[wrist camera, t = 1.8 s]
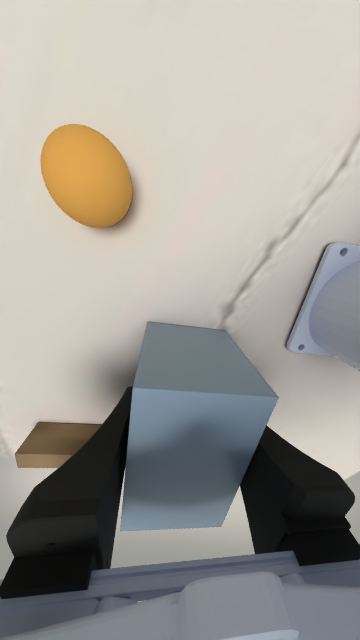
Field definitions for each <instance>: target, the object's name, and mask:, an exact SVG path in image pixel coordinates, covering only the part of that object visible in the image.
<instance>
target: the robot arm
mask: <svg viewBox="0 0 360 640" xmlns="http://www.w3.org/2000/svg"><path fill="white" fill-rule="evenodd" d="M341 249H342V253H341V254H340V251H341ZM299 345H301V346H300V347H299ZM287 349H288V350H290V351H291V352H297V353H307V354H316V355H326V356H335V357H337V358H339V359H341V360H342V361H344V362H346V363H347V364H349V365H351V366H352V367H354V368H356V369H357V370H359V371H360V246H356V245H351V244H346V243H342V242H333V243H331V244H329V245H328V246H327V248H326V250H325V252H324V255H323V257H322V260H321V262H320V264H319V267H318V269H317V272H316V274H315V277H314V279H313V281H312V284H311V286H310V289H309V291H308V294H307V296H306V298H305V301H304V303H303V306H302V308H301V311H300V313H299V316H298V318H297V320H296V323H295V325H294V328H293V330H292V333H291V335H290V337H289V340H288V342H287ZM132 390H133V387H128V388H127V389H126V391H125V393H124V395H123V396H122V398H121V400H120V401H119V403H118V404H117V406H116V407H115V408H114V410H113V411H112V413H111V414H110V415H109V417H108V418H107V419H106V420H105V422H104V423H103V424H102V425H101V427H100V428H99V429H98V430H97V431H96V432H95V433H94V435H93V436H92V437H91V438H90V439H89V440H88V441H87V442H86V443H85V444H84V445H83V446H82V447H81V448H80V449H79V450H78V451H77V452H76V453H75V454H74V455H73V456H71V457H70V458H69V459H68V460H67V461H66V462H65V463H64V464H63V465H61V466H60V467H59V468H58V469H57V470H56V471H54V472H53V473H52V474H51V475H49V476H48V477H47V478H46V479H44V480H43V481H42V482H41V483H40V484H38V485H37V486H36V487H35V488H34V489H33V490H32V492H31V493H30V495H29V496H28V498H27V499H26V501H25V502H24V504H23V505H22V507H21V509H20V511H19V512H18V514H17V516H16V518H15V519H14V521H13V523H12V525H11V527H10V528H9V530H8V533H7V535H6V536H7V542H8V544H9V547H10V549H11V551H12V553H13V555H14V559H13V561H12V563H11V565H10V567H9V569H8V572H7V573H6V576H5V578H4V579H1V580H0V640H360V544H358V542H357V541H356V539H355V538H354V536H353V535H352V533H351V532H350V530H349V529H350V528H351V526H350V524H349V522H348V521H347V519H346V518H345V514H347V512H348V511H349V510H350V508H351V507H352V506H353V504H354V501H355V496H354V493H353V492H352V491H351V489H350V488H349V487H348V486H347V484H346V483H345V482H344V480H343V479H342V478H341V477H340V475H339V474H338V473H337V472H335V471H333V470H331V469H330V468H328V467H326V466H324V465H322V464H321V463H319V462H317V461H316V460H314V459H312V458H311V457H309V456H308V455H306V454H304V453H303V452H301V451H300V450H298V449H297V448H295V447H294V446H293V445H291V444H290V443H288V442H287V441H286V440H284V439H283V438H282V437H280V436H279V435H278V434H276V433H275V432H274V431H273V430H272V429H270V428H269V427H268V426H267V425H266V427H265V429H264V431H263V434H262V436H261V438H260V440H259V443H258V445H257V447H256V449H255V452H254V454H253V456H252V458H251V461H250V463H249V465H248V467H247V470H246V472H245V474H244V477H243V479H242V481H241V483H240V488H241V492H242V496H243V500H244V504H245V509H246V513H247V517H248V522H249V527H250V531H251V537H252V541H253V546H254V551H255V554H254V555H243V556H234V557H223V558H213V559H203V560H193V561H183V562H172V563H162V564H152V565H142V566H133V567H122V568H112V569H110V566H111V559H112V552H113V544H114V537H115V530H116V523H117V516H118V510H119V503H120V496H121V489H122V483H123V477H124V471H125V466H126V459H127V447H128V436H129V425H130V413H131V402H132ZM144 600H146V601H144ZM137 601H143V602H139V603H138V602H137Z"/></svg>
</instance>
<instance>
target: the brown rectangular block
mask: <svg viewBox="0 0 360 640" xmlns="http://www.w3.org/2000/svg"><path fill="white" fill-rule="evenodd" d="M100 427H101V425H95V424H68V423H41V422H38V423H37V425H36V426H35V427H34V429H33V430H32V431H31V433H30V434H29V435H28V437H27V438H26V439H25V441H24V442H23V444H22V445H21V446H20V448H19V449H18V450H17V452H16V453H15V457H16V461H17V466H18V468H59V467H60V466H61V465H63V464H64V463H65V462H66V461H67V460H68V459H69V458H70V457H71V456H73V455H74V454H75V453H76V452H77V451H78V450H79V449H80V448H81V447H82V446H83V445H84V444H85V443H86V442H87V441H88V440H89V439H90V438H91V437H92V436H93V435H94V433H95V432H96V431H97V430H98V429H99V428H100ZM125 468H126V466H125Z"/></svg>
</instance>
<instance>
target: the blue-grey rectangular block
mask: <svg viewBox="0 0 360 640" xmlns="http://www.w3.org/2000/svg"><path fill="white" fill-rule="evenodd" d="M278 398H279V397H278V396H277V395H276V393H275V392H274V391H273V390H272V388H271V387H270V386H269V385H268V383H267V382H266V381H265V380H264V378H263V377H262V376H261V375H260V373H259V372H258V371H257V370H256V368H255V367H254V366H253V365H252V363H251V362H250V361H249V360H248V358H247V357H246V356H245V355H244V353H243V352H242V351H241V350H240V348H239V347H238V346H237V345H236V343H235V342H234V341H233V340H232V338H231V337H230V336H229V335H228V333H227V332H226V331H223V330H215V329H206V328H198V327H189V326H181V325H172V324H164V323H155V322H148V323H147V327H146V331H145V336H144V340H143V345H142V349H141V353H140V358H139V362H138V367H137V371H136V376H135V380H134V384H133V390H132V402H131V413H130V425H129V436H128V447H127V459H126V470H125V482H124V494H123V505H122V516H121V529H120V531H137V530H158V529H159V530H160V529H181V528H182V529H183V528H206V527H221V526H222V524H223V521H224V519H225V517H226V515H227V512H228V510H229V508H230V505H231V504H232V501H233V499H234V497H235V494H236V492H237V490H238V488H239V486H240V483H241V481H242V479H243V477H244V474H245V472H246V470H247V467H248V465H249V463H250V461H251V458H252V456H253V454H254V452H255V449H256V447H257V445H258V443H259V440H260V438H261V436H262V434H263V431H264V429H265V427H266V425H267V422H268V420H269V418H270V416H271V413H272V411H273V409H274V407H275V404H276V402H277V400H278Z"/></svg>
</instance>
